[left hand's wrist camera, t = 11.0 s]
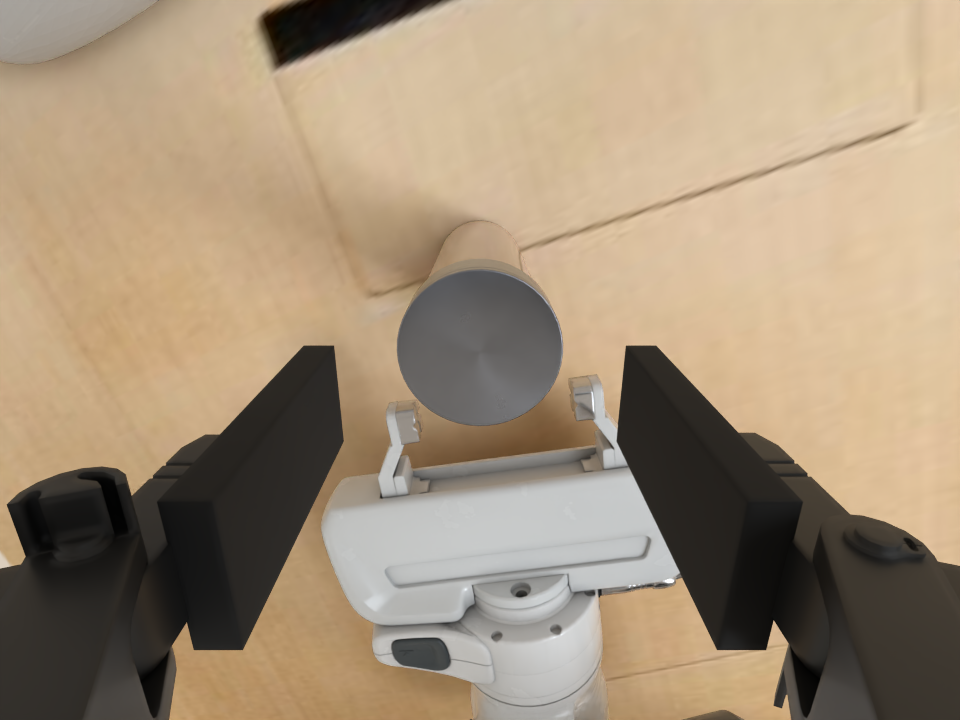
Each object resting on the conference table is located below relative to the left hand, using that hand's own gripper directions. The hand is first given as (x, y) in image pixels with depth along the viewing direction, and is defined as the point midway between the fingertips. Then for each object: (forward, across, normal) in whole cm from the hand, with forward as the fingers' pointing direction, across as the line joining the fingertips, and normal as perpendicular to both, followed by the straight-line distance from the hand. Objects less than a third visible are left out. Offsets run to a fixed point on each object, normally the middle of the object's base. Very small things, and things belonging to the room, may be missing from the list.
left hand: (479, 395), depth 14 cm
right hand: (+12, -1, +5) cm, 13 cm away
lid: (+4, 0, 0) cm, 4 cm away
